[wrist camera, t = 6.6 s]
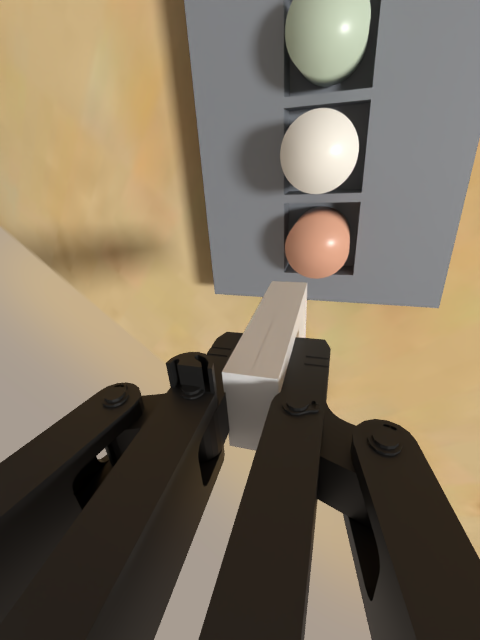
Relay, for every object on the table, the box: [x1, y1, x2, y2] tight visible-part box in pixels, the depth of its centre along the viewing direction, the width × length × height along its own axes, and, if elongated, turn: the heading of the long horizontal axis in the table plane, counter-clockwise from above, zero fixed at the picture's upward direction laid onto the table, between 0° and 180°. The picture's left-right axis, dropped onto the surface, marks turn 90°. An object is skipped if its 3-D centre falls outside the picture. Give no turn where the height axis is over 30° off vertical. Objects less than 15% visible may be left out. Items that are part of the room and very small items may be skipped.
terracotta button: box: [285, 206, 350, 279], centre depth 25 cm, size 4×4×4 cm
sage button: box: [285, 0, 371, 87], centre depth 19 cm, size 4×4×4 cm
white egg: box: [280, 108, 359, 194], centre depth 21 cm, size 4×4×4 cm
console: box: [184, 0, 480, 308], centre depth 24 cm, size 18×22×3 cm
